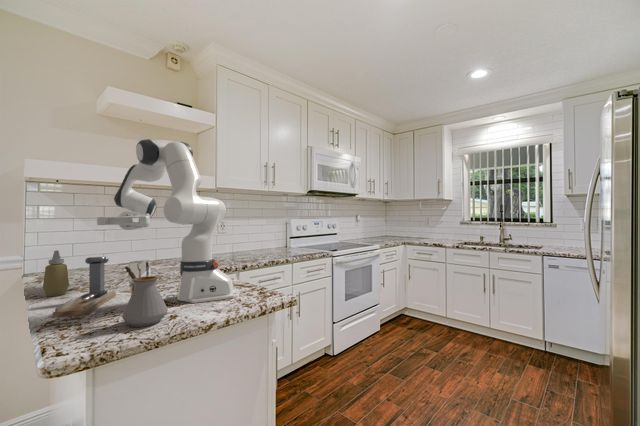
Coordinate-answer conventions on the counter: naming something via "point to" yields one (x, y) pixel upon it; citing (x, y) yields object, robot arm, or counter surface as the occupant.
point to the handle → (96, 277)
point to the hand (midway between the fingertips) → (118, 220)
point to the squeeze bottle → (56, 276)
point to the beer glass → (138, 271)
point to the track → (82, 305)
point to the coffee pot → (144, 302)
